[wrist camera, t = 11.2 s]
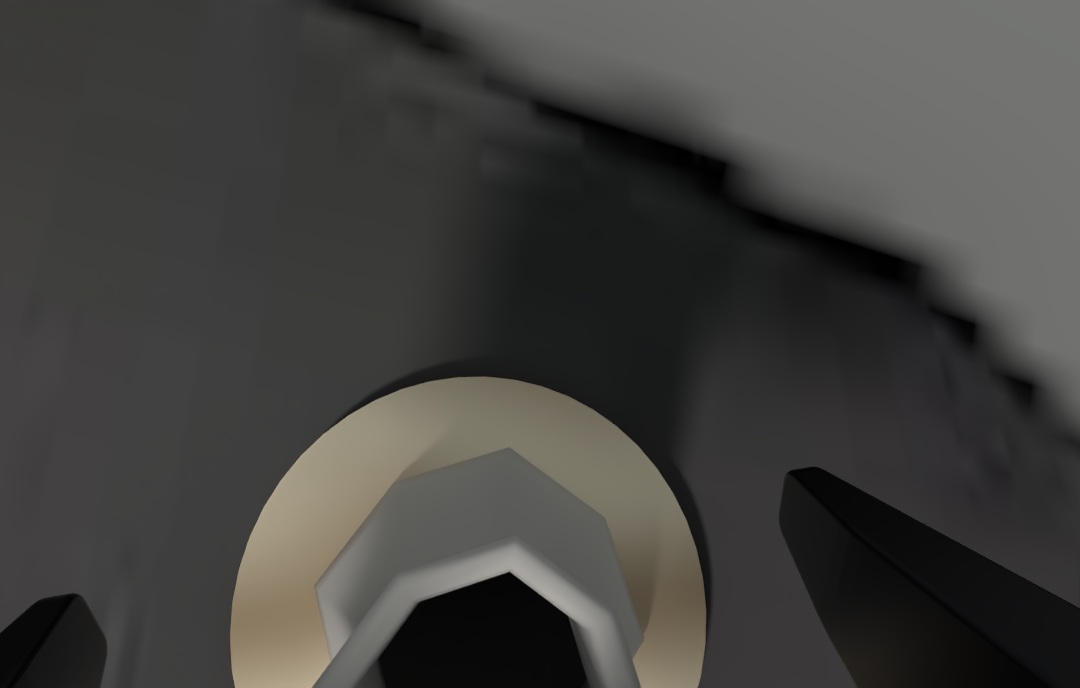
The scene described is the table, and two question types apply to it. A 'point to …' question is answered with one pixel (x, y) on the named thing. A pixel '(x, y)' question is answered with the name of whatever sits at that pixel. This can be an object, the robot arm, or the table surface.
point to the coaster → (441, 440)
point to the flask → (479, 587)
